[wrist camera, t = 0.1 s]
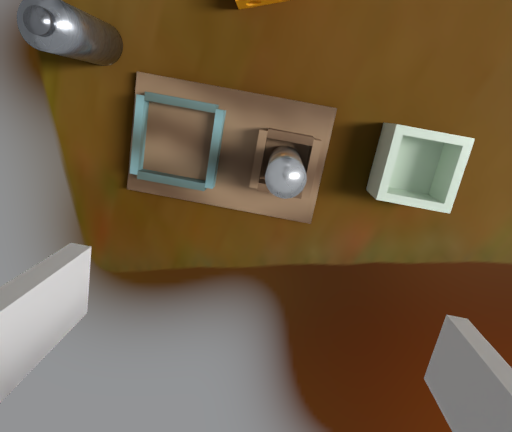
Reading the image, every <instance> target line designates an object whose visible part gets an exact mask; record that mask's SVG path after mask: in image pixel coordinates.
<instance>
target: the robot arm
mask: <svg viewBox="0 0 512 432" xmlns="http://www.w3.org/2000/svg"><path fill="white" fill-rule="evenodd" d="M90 260H91V246H85V245H80V244H75V243H70V244H68V245H67V246H65V247H63V248H62V249H60V250H59V251H57V252H55V253H54V254H52V255H51V256H49V257H47V258H46V259H44V260H43V261H41V262H39V263H38V264H36V265H35V266H33V267H31V268H30V269H28V270H27V271H25V272H24V273H22V274H21V275H19V276H17V277H15V278H14V279H12V280H11V281H9V282H7V283H6V284H4V285H3V286H1V287H0V403H1V402H2V401H3V400H4V399H5V398H6V397H7V396H8V394H10V392H11V391H12V390H13V389H14V388H15V387H16V386H17V385H18V384H19V383H20V382H21V381H22V380H23V379H24V378H25V377H26V376H27V375H28V374H29V373H30V371H32V369H34V367H35V366H36V365H37V364H38V363H39V362H40V361H41V360H42V359H43V358H44V357H45V356H46V355H47V354H48V353H49V352H50V351H51V350H52V349H53V348H54V347H55V346H56V345H57V344H58V343H59V341H61V339H62V338H63V337H64V336H65V335H66V334H67V333H68V332H69V331H70V330H71V329H72V328H73V327H74V326H75V325H76V324H77V323H78V322H79V321H80V320H81V319H82V318H83V316H85V315H86V313H87V307H88V292H89V276H90ZM424 379H425V381H426V383H427V385H428V387H429V389H430V391H431V392H432V394H433V396H434V398H435V400H436V402H437V404H438V406H439V407H440V409H441V411H442V413H443V415H444V417H445V419H446V421H447V423H448V424H449V426H450V428H451V430H452V432H512V368H511V367H510V366H509V365H508V364H507V363H506V361H505V360H504V359H503V358H502V357H501V356H500V355H499V354H498V352H497V351H496V350H495V349H494V348H493V347H492V346H491V345H490V344H489V343H488V341H487V340H486V339H485V338H484V337H483V336H482V335H481V333H480V332H479V331H478V330H477V329H476V328H475V327H474V326H473V325H472V323H471V322H470V321H469V320H468V319H466V318H460V317H454V316H450V315H446V318H445V320H444V323H443V326H442V329H441V332H440V335H439V337H438V340H437V343H436V346H435V349H434V352H433V354H432V357H431V360H430V363H429V366H428V368H427V371H426V374H425V377H424Z"/></svg>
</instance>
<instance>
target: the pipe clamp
mask: <svg viewBox="0 0 512 432" xmlns="http://www.w3.org/2000/svg"><path fill="white" fill-rule="evenodd" d="M284 1H289V0H235V2H236V4H237V6H238V9H239V10H240V9H245V8H251V7H256V6H262V5H267V4H273V3H278V2H284Z"/></svg>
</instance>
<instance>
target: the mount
mask: <svg viewBox="0 0 512 432" xmlns="http://www.w3.org/2000/svg"><path fill="white" fill-rule="evenodd" d="M336 111H337V108H332V107H327V106H321V105H316V104H311V103H305V102H300V101H294V100H289V99H283V98H278V97H273V96H267V95H262V94H256V93H251V92H245V91H240V90H235V89H229V88H224V87H218V86H213V85H207V84H202V83H197V82H191V81H186V80H180V79H175V78H169V77H164V76H159V75H153V74H148V73H142V72H137V76H136V88H135V100H134V111H133V123H132V135H131V147H130V159H129V171H128V183H127V189H129V190H135V191H140V192H145V193H151V194H156V195H161V196H166V197H172V198H177V199H182V200H188V201H193V202H198V203H203V204H209V205H214V206H219V207H225V208H230V209H235V210H241V211H246V212H251V213H256V214H262V215H267V216H272V217H278V218H283V219H288V220H293V221H299V222H304V223H309V224H311V220H312V216H313V212H314V207H315V203H316V198H317V194H318V190H319V185H320V181H321V177H322V172H323V168H324V163H325V159H326V155H327V150H328V146H329V141H330V137H331V133H332V128H333V124H334V119H335V115H336ZM285 145H286V146H290V147H293V148H294V149H295V150H296V151H297V152H298V153H299V156H300V158H301V161H302V163H303V166H304V169H305V171H306V176H307V180H306V185H305V187H304V189H303V190H302V191H301V192H300V193H299V194H298V195H297V196H295V197H292V198H288V199H283V198H279V197H276V196H275V195H273V194H272V193H271V192H270V191H269V190H268V188H267V186H266V183H265V174H266V170H267V166H268V162H269V158H270V155H271V153H272V152H273V150H274V149H276V148H277V147H279V146H285Z"/></svg>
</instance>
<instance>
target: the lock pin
mask: <svg viewBox="0 0 512 432" xmlns="http://www.w3.org/2000/svg"><path fill="white" fill-rule="evenodd" d="M306 180H307V176H306V171H305V169H304V166H303V163H302V161H301V158H300V156H299V153H298V152H297V151H296V150H295V149H294V148H293V147H290V146H286V145H285V146H279V147H277V148H276V149H274V150H273V152H272V153H271V155H270V158H269V162H268V166H267V170H266V174H265V183H266V186H267V188H268V190H269V191H270V192H271V193H272V194H273V195H275V196H276V197H279V198H283V199H288V198H292V197H295V196H297V195H298V194H299V193H300V192H301V191H302V190H303V189H304V187H305V185H306Z"/></svg>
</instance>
